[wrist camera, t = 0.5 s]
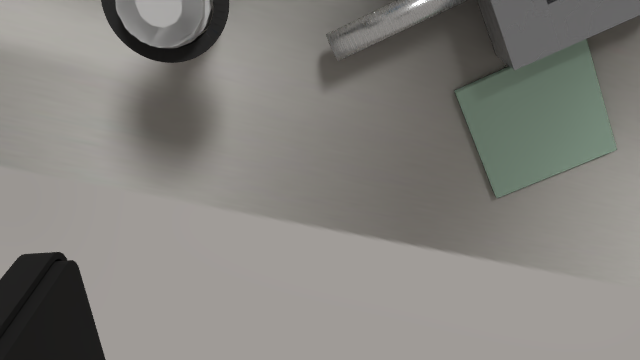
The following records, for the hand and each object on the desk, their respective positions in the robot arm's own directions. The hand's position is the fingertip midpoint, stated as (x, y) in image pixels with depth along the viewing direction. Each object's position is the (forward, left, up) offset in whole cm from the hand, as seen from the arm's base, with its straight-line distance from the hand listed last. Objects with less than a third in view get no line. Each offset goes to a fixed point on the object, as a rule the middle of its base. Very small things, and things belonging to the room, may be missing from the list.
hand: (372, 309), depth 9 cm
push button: (+6, -4, -27) cm, 28 cm away
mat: (-9, +12, -27) cm, 31 cm away
